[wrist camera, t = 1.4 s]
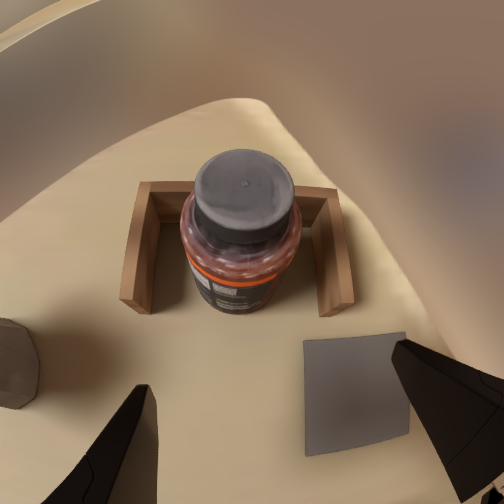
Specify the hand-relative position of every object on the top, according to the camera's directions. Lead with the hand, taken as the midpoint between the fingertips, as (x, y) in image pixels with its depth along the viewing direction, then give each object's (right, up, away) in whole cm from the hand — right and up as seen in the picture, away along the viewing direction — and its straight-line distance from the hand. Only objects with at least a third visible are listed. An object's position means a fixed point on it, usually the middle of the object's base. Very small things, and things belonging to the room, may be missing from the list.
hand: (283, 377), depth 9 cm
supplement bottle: (-2, +2, +15) cm, 16 cm away
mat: (+8, -8, +12) cm, 16 cm away
